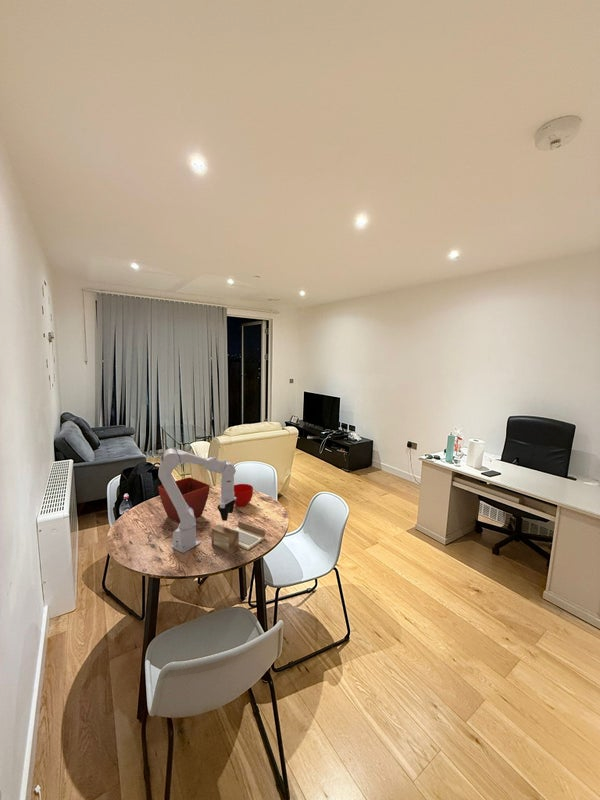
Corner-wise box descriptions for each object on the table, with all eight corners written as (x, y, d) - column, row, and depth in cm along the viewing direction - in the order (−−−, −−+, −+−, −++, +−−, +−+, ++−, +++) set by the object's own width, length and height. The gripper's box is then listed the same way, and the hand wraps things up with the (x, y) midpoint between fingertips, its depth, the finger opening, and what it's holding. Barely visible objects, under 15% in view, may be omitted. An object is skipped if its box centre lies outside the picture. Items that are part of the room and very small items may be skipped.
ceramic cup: (222, 501, 190) (222, 485, 189) (251, 499, 195) (251, 483, 194) (223, 511, 178) (223, 493, 177) (254, 508, 182) (254, 491, 181)
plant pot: (178, 529, 157) (178, 496, 155) (157, 517, 168) (157, 486, 166) (210, 515, 172) (210, 485, 170) (189, 505, 183) (189, 476, 181)
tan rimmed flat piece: (248, 550, 141) (248, 541, 140) (221, 539, 149) (221, 530, 149) (265, 538, 151) (265, 529, 151) (239, 528, 159) (239, 520, 159)
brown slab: (231, 554, 138) (231, 536, 137) (211, 545, 144) (211, 528, 143) (238, 549, 141) (238, 532, 141) (218, 541, 148) (218, 524, 147)
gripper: (231, 495, 141) (230, 524, 142) (240, 483, 155) (240, 510, 156) (215, 493, 141) (215, 523, 143) (226, 482, 156) (226, 509, 157)
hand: (227, 516), depth 150 cm, fingers open, 7 cm apart
